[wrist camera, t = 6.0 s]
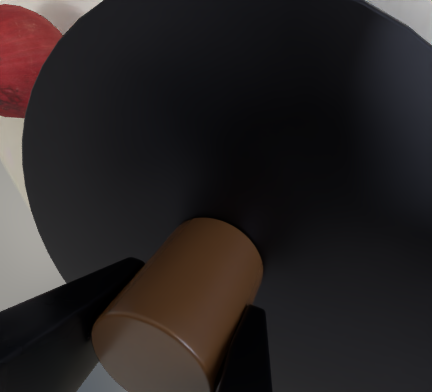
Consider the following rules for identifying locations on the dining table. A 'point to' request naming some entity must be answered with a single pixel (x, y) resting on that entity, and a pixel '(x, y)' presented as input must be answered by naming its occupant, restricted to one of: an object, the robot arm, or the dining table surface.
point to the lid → (243, 187)
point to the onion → (22, 55)
